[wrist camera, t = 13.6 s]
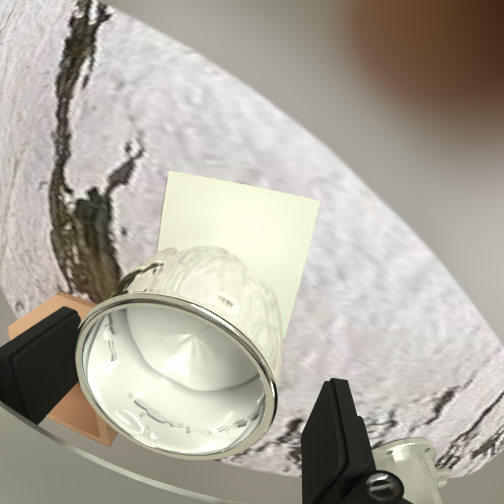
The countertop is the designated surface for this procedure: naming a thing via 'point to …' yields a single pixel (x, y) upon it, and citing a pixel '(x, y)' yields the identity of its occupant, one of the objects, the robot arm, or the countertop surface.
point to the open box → (74, 402)
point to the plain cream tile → (252, 211)
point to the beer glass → (188, 346)
